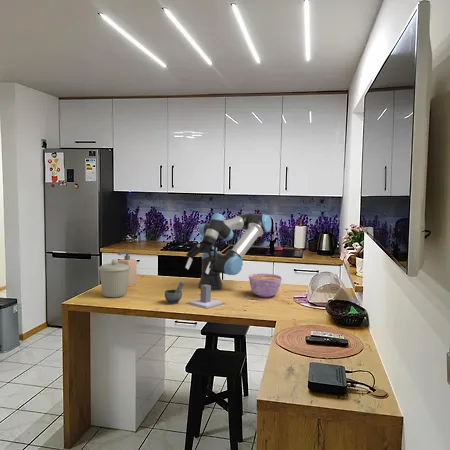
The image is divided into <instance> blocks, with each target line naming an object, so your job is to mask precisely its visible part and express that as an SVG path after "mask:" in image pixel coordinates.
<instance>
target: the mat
mask: <svg viewBox="0 0 450 450" xmlns="http://www.w3.org/2000/svg"><path fill="white" fill-rule="evenodd" d="M226 304H227V303H226V302H222V304H218V305H215V306H212V307H208V308H205V307H201V306H197V305H193V304H189V301H188V302H185V305H190V306H193V307H197V308H201V309H205V310H208V309H212V308H215V307H218V306H222V305H226Z"/></svg>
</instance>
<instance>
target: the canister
mask: <svg viewBox="0 0 450 450" xmlns="http://www.w3.org/2000/svg"><path fill="white" fill-rule="evenodd" d="M130 268H131V267H130V266H128V265H126V264H120V263H118V259H112V260H111V262H110V263H105V264H102V265H100V266H98V268H97V269H98V270H99V276H100V279H99V280H100V286H101V293H102V295H103V296H104V297H106V298H114V299H115V298H122V297H124V296H125V295H126V293H127V290H128V287H127V286H128V278H129V269H130Z"/></svg>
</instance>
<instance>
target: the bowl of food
mask: <svg viewBox="0 0 450 450" xmlns="http://www.w3.org/2000/svg"><path fill="white" fill-rule="evenodd" d="M248 279H249V280H248V281H249V285H250V289H251V292H252V293H253V294H255V295H257V296H258V297H260V298H271V297H272V296H275V295H276V294H277V293H278V292H279V291H280V287H281V284H282V280H283V277H282V276H280V275H277V274H273V273H252V274H249V275H248Z"/></svg>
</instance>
